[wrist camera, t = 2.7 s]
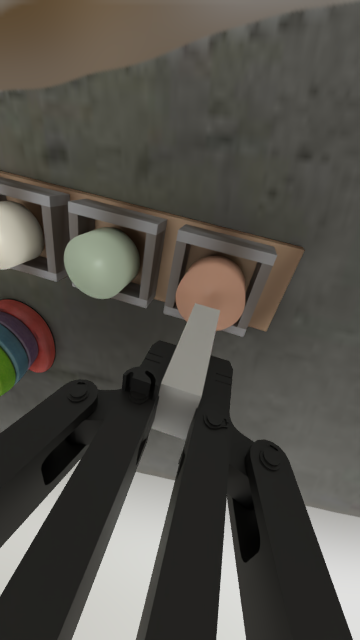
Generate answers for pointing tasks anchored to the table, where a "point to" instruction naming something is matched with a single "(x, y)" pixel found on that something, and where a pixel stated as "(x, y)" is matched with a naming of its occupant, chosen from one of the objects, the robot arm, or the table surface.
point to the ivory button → (18, 235)
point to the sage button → (101, 262)
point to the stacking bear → (22, 343)
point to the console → (154, 247)
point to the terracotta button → (213, 289)
